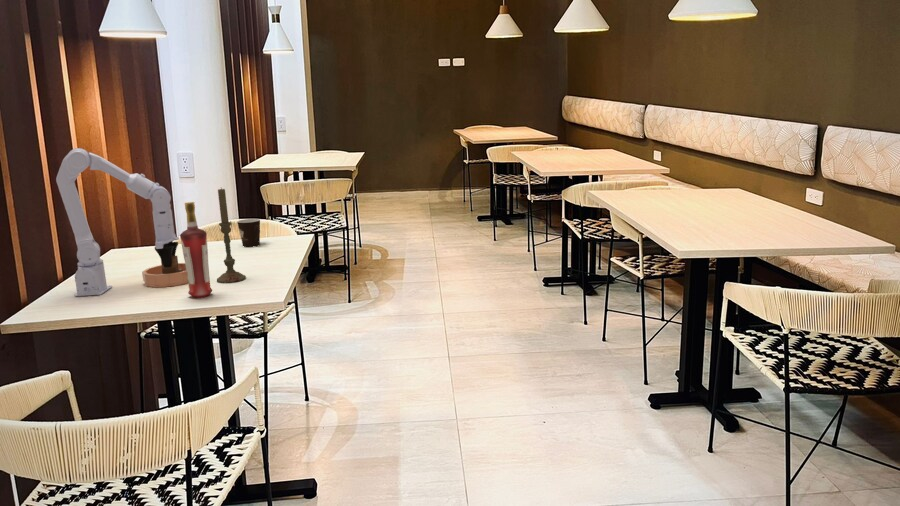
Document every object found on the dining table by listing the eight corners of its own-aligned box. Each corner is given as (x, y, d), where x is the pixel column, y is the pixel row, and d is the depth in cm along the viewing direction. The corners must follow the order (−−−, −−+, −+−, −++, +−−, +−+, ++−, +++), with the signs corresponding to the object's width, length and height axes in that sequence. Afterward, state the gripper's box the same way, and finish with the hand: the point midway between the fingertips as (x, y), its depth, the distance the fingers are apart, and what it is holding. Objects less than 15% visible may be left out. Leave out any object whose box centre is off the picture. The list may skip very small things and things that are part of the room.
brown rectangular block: (177, 278, 235) (175, 257, 233) (163, 278, 235) (160, 257, 233) (179, 276, 237) (177, 255, 236) (165, 277, 237) (163, 256, 235)
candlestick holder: (216, 284, 229) (205, 189, 222) (217, 277, 237) (206, 186, 231) (246, 281, 231) (236, 187, 225) (246, 274, 240) (236, 184, 233)
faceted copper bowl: (189, 285, 229) (187, 273, 228) (137, 288, 228) (135, 276, 227) (202, 273, 244) (201, 261, 243) (154, 276, 243) (152, 264, 243)
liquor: (186, 294, 218) (175, 202, 212) (212, 291, 221) (201, 200, 215) (188, 300, 212) (176, 205, 206) (215, 296, 215) (203, 203, 209)
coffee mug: (239, 244, 290) (237, 219, 288) (261, 242, 292) (259, 217, 290) (240, 250, 279) (237, 224, 277) (263, 247, 282) (261, 222, 279)
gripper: (169, 228, 225) (175, 270, 228) (183, 220, 239) (188, 260, 242) (146, 229, 225) (152, 272, 228) (161, 221, 239) (166, 261, 242)
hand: (169, 266), depth 235 cm, fingers closed on brown rectangular block, 2 cm apart
